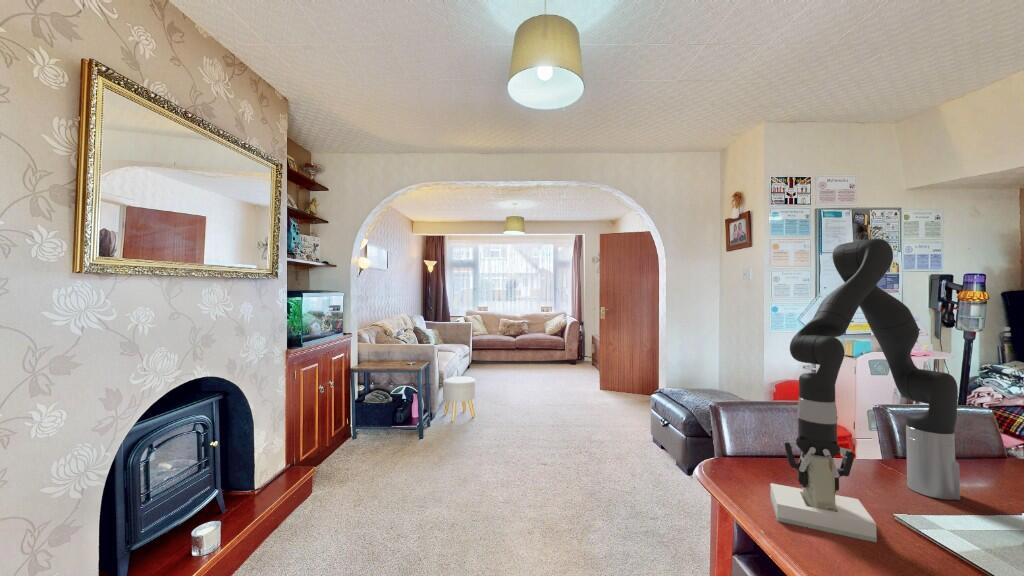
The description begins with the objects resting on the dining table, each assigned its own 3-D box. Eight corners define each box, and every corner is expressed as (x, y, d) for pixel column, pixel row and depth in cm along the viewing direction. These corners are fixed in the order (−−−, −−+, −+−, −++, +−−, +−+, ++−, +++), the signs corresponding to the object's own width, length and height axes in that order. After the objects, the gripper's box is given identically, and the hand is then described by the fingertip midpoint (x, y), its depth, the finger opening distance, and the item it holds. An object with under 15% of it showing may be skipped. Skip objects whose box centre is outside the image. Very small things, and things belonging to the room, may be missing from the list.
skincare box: (836, 513, 92) (836, 459, 92) (815, 510, 93) (814, 458, 93) (821, 499, 98) (820, 449, 98) (801, 497, 99) (800, 448, 99)
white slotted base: (858, 515, 96) (857, 499, 97) (876, 542, 86) (876, 523, 86) (770, 498, 105) (770, 483, 105) (777, 521, 94) (777, 503, 94)
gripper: (850, 417, 96) (851, 488, 96) (779, 409, 102) (779, 476, 102) (860, 426, 89) (861, 503, 89) (783, 417, 96) (784, 488, 95)
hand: (817, 488), depth 95 cm, fingers closed on skincare box, 5 cm apart
